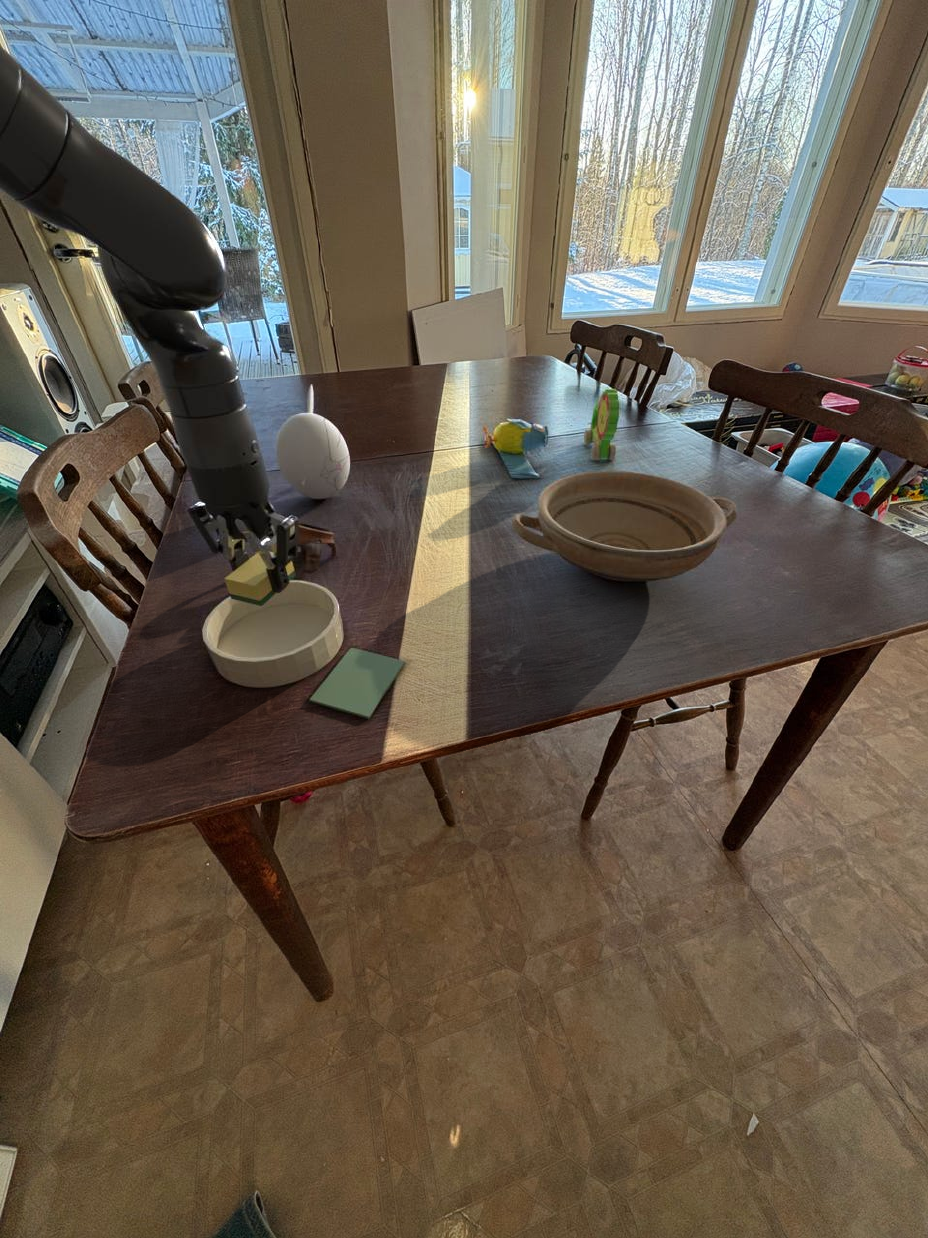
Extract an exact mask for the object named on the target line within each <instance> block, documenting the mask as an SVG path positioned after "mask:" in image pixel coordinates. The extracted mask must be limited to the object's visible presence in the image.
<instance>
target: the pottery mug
mask: <svg viewBox="0 0 928 1238" xmlns="http://www.w3.org/2000/svg"><path fill="white" fill-rule="evenodd" d="M334 536H335V533H334V532H332V531H331V530H330V529H328V528H324V527H321V526H316V525H313V524H308V523H304V522H300V521H299V532H298V548H299V547H300V551H298V556H297V557H296V558H295V559H293V560H292V563H293V567H294V571H295V575H296V576H295V577H294V578H296V579H300V578H301V576H302V574H301V572H302V571H303V572H305V573H307V574H312V573H315V572H317V571H318V570H319V567H320V559H321V557H322V553H323V550H322V545H323V544H326V545H327V546H328V547H330V548H331V556H332V557H334V558H335V557H337V553H338V552H337V545H336V543H335V541H334V539H333V538H334ZM321 544H322V545H321Z"/></svg>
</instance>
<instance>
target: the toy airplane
mask: <svg viewBox="0 0 928 1238" xmlns="http://www.w3.org/2000/svg"><path fill="white" fill-rule="evenodd" d="M506 420H507V421H504V422H501V423H499V424H498V425H497V426H496V427H495V429H494V430H493V434H490V432H489V431H488V429H487V427H485V426H481V427H482V430H483V432H484V441H483V446H485V448H484V449H487V448H489V447H490V446H491V445H493V447H494V448H495V449H496V450H497V451H498V453H499V456H500V458H501V460H502V461H503V463H504V465H505V467H506V469H507V471H508V475H510V477H511V478H512V479H524V480H529V479H540V475H539V474H538V473H536V471H535V470H534V468H533V466H532V465H531V463H530V462H529V460H528V458H527V456H526V455H525V453H527V452H530V451H533V450H536V449H538V448H541V447H544V448H546V446H547V445H548V443H549V435H550V433H549V429H548V426H547V425H545V426H544V425H542V424H540V423H537V422H528V421H525V420H523V419H519V418H518V419H514V418H507V419H506Z"/></svg>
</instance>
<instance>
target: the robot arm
mask: <svg viewBox="0 0 928 1238" xmlns="http://www.w3.org/2000/svg"><path fill="white" fill-rule="evenodd" d="M64 106H65V105H63V104H62V103H61V102H60V101H59V100H58V99H57V98H56V97H55V96H54V95H53V94H51V93H50V91H48V90H47V89H46V88H45V87H44V85H42V84H41V83H40V81H38V80H37V79H36V78H35V77H34V75H33V74H31V73H30V72H29V71H28V70H27V69H26V68H24V67H23V65H22V64H21V63H19V61H18V60H16V59H15V58H14V57H13V56H12V55H11V54H10V53H9V52H8V51H6V49H4V47H3V46H2V45H0V192H2V193H3V194H4V195H5V196H7V197H8V198H10V199H11V200H13V202H15V203H16V204H18V205H19V206H20V207H22V208H23V209H24V210H26V211H27V212H28V213H30V214H32V215H33V216H34V217H36V218H38V219H40V220H41V221H43V222H45V223H47V224H49V225H50V226H52V227H56V228H58V229H60V230H61V229H62V230H65V231H68V232H71V233H74V234H75V235H76V234H77V235H78V236H80V237H83V238H85V239H86V240H88V241H90V242H91V243H93V244H94V245H95V246H96V249H97V256H98V257H97V258H98V260H99V265H100V269H101V271H102V275H103V277H104V280H105V281H106V285H107V286H108V289H109V291H110V293H111V295H112V297H113V299H114V301H115V303H116V304H117V307H118V308H119V310H120V311H121V314H122V316H123V317H124V320H126V322H127V324H128V325H129V327H130V329H131V330H132V333H133V334H134V336H135V337H136V340H137V341H138V343H139V345H140V346H141V347H142V349H143V351H144V352H145V353H146V355H147V357H148V358H149V360H150V361H151V363H152V365H153V368H154V371H155V374H156V376H157V380H158V383H159V386H160V389H161V391H162V395H163V397H164V400H165V402H166V405H167V408H168V411H169V415H170V417H171V421H172V426H173V430H174V435H175V438H176V441H177V445H178V447H179V449H180V450H179V451H180V453H181V455H182V458H183V460H184V463H185V466H186V469H187V471H188V472H187V473H188V474H189V477H190V479H191V483H192V485H193V488H194V490H195V493H196V496H197V498H198V500H199V502H197V503H195V504H194V505H192V506H190V507H188V509H187V514H189V516H190V517H191V519H192V521H193V523H194V524H195V526H196V528H197V529H198V531H199V533H200V534H201V537H202V538H203V539H204V541H205V542H206V544H207V546H208V548H209V549H210V551H211V552H212V553H214V554H218V553H221V554H222V555H223V557H224V558H225V559H226V560H227V561H229V564H230V567H231V570H232V572H233V571H235V570H236V569H237V568H239V567H240V566H241V565H242V564H244V563H245V562H246V561H248V560H249V559H250V557H249V554H248V552H246V551H245V550H246V542H247V544H249V547H250V548H251V550H252V551H253V553H254V554H257V553H258V554H259V555H260V556H261V558H262V560H263V562H264V563H265V565H266V567H267V568H266V571H267V575H268V577H269V580H270V583H271V587H272V590H273V592H275V593H280V592H282V591H283V590H284V589H285V588H286V587H287V585H288V584H289V577H288V574H287V570H286V566H287V565H288V564H289V563H290V562H291V561H292V560H293V559H295V558H296V557H297V556H298V552H299V546H298V532H299V522H300V521H299V519H298V517H297V516H296V515H293V514H292V515H290V516H288V517H285V516H283V515H281V514H279V513H277V512H276V509H275V506H273V504H272V502H271V501H270V498H269V492H270V487H271V486H270V480H269V477H268V474H267V469H266V465H265V462H264V458H263V454H262V450H261V445H260V443H259V438H258V435H257V431H256V428H255V424H254V422H253V419H252V416H251V414H250V412H249V409H248V407H247V403H246V400H245V395H244V392H243V389H242V385H241V382H240V381H241V380H240V377H239V373H238V369H237V367H236V363H235V359H234V357H233V355H232V352H231V351H230V349H229V348H228V346H227V345H226V344H225V343H223V342H222V341H221V340H219V339H217V338H216V337H214V336H212V335H211V334H209V333H208V331H206V329H205V328H204V326H203V325H202V323H201V320H200V317H199V315H198V314H197V312H199V311H205V310H208V309H210V308H212V307H213V306H216V305H217V304H218V303H219V302H220V301H221V300H222V298H223V296H224V294H225V292H226V289H227V286H228V270H227V263H226V260H225V257H224V255H223V252H222V250H221V247H220V246H219V244H218V242H217V240H216V239H215V237H214V235H213V233H212V232H211V231H210V230H209V228H208V226H206V224H205V222H203V221H202V219H201V218H200V217H199V216H198V215H197V214H196V213H195V212H194V211H193V210H192V209H191V208H190V207H188V205H186V203H185V202H183V200H181V199H180V198H178V197H177V196H176V195H174V194H173V193H172V192H171V191H170V190H168V189H167V188H166V187H165V186H163V185H162V184H160V182H158V181H157V180H155V179H153V177H151V176H150V175H148V174H147V173H146V172H144V171H143V170H142V169H141V168H139V167H138V166H136V164H134V163H132V162H131V161H130V160H129V159H127V158H126V157H124V156H122V155H121V154H120V153H119V152H117V151H115V150H114V149H112V148H111V147H109V146H108V145H106V144H105V143H103V142H102V141H101V140H99V139H98V138H97V137H95V135H93V134H92V133H91V132H90V131H89V130H88V129H86V127H84V125H83V124H82V123H81V122H80V121H79V120H78V119H77V118H76V117H75V116H74V115H73V114H72V113H71V112H70V111H69V109H67V108H66V107H64ZM214 532H216V535H217V536H218V537H219V538H218V539H216V537H215V536H214ZM264 537H265V539H263V538H264ZM262 539H263V540H262ZM261 540H262V541H261ZM270 549H271V551H270ZM270 552H273V553H274V555H272V556H271V554H270Z"/></svg>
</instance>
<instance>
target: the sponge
mask: <svg viewBox="0 0 928 1238" xmlns="http://www.w3.org/2000/svg"><path fill="white" fill-rule="evenodd" d="M269 552H270V554H271V556H272V555H274V553H273V551H269ZM266 568H267V567H266V565H265V563H264V562H263V560H262V558H261V556H260V555H259V554H258V553H254V555H252V556H251V557H249V560H248V561H246V562H245V563H244V564H242V565H241V566H240V567H239V568H237V569H236V570H235V571H233V570H232V571H231V573H230V574H228V575H226V577H225V578H224V579H223V580H224V582H225V585H226V588H227V590H228V593H229V597H230V596H231V599H234V600H238V601H242V602H247V603H251V604H255V605H259V606H263V605H264V604H265V603H266V602H267V601H268V600H269V599H270V598H271V597H272V596H274V595H275V594H276V593H275V592H273V590H272V587H271V583H270V580H269V577H268V575H267V571H266ZM286 570H287V574H288V577H289V581H290V580H293V578H296V577H295V576H296V575H295V571H294V567H293V563H292V561H291V562H290V563H289V564H288V565H287V566H286Z"/></svg>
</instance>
